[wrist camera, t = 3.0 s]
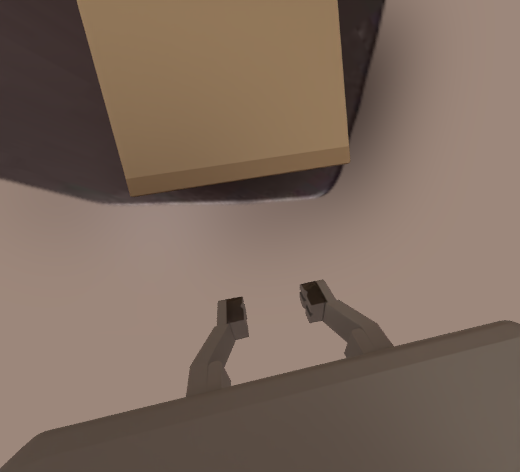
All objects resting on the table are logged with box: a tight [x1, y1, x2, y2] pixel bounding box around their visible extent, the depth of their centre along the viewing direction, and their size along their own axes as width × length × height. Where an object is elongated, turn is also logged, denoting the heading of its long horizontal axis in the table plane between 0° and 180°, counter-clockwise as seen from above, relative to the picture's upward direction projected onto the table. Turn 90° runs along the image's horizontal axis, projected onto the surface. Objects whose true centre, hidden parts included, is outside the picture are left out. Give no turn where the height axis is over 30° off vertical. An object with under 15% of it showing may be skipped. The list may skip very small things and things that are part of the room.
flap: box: [77, 0, 350, 197], centre depth 17 cm, size 22×18×1 cm
